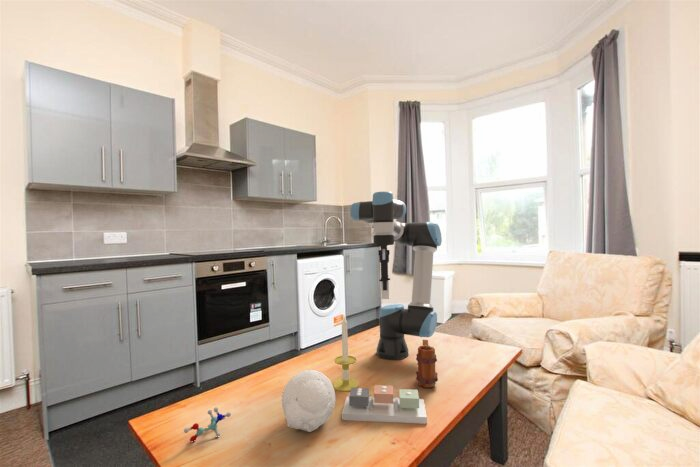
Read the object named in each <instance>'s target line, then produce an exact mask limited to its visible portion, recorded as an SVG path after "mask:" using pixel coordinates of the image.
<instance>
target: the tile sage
mask: <svg viewBox="0 0 700 467" xmlns="http://www.w3.org/2000/svg"><path fill="white" fill-rule="evenodd" d="M398 393H399V395H398V396H399V397H398V398H399V400H400V408H419V399H420V396H419V391H418V389H410V388H408V389H407V388H404V389H403V388H399V389H398Z"/></svg>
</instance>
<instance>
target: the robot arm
mask: <svg viewBox="0 0 700 467" xmlns="http://www.w3.org/2000/svg"><path fill="white" fill-rule="evenodd" d="M349 212H350V213H349V214H350V217H351V219H352V220H353V221H363V222H365V223H367V224H368V225H370V226H371V228H372V230H373V234H374V235H373V239H372V240H373V245H374V246H380V249H379V250H378V256H379V260H378V262H379V263H380V279H379V281H378V282H380V287H381V288H380V290H381V291H380V292H381V293H380V295H381V300H390V292H389V291H390V286H389V284H390V283H389V282H390V281H391V277H389V267H388V266H389V265H388V264H389V262H390V249H388V246H394V245H395V243H397V244H399V245H403V246H408V247H409V246H410V247H412V248H411V249H412V250H413V251H414V266H413V278H412V291H411V293H412V294H411V302H410V303H408V305H407V308H405V306H404V305H403V304H399V303H398V304H397V303H396V304H388V305H384V306H382V307H381V308H380V309H379V316H378V318H379V319H378V320H379V341H378V342H377V347H376V355H377V357H379V358H382V359H384V360H390V361H391V360H403V359H406V358H407V357H409V348H408V344H407V341H406V339H405V335H406V336H413V337H420V338H431V337H432V336H433V335H434V334H435V332H436V328H437V324H438V314H437V312H436V311H435V310H434V306H433V305H432V304H431V299H432V298H431V297H432V282H433V280H432V279H433V265H434V264H433V263H434V253H436V251H437V250H438V247H440V246H441V245H442V232H441V229H440V226H439V224H438V223H437V222H436V221H419V222H400V221H398V220H399V219H403V217H404V216H405V215H406V213H407V206H406V204H405V202H403V201H401V200H400V199H394V193H393V192H392V191H376V192H374V193H373V194H372V200H371V201H359V202H358V201H357V202H353V203H352V204H351V205H350V210H349Z"/></svg>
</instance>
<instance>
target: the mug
mask: <svg viewBox="0 0 700 467" xmlns="http://www.w3.org/2000/svg"><path fill="white" fill-rule="evenodd" d="M415 355H416V358H415V359H416V361H417V371H415V374H416V376H415V380H416V381H418V385H419V386H420V387H422V388H428V389H429V388H433V387H435V385H436V383H437V382H438V381H439V379H438V372H436V362H437V361H438V359H437V354H436V348H434V347H433V346H431V345H429V339H422V345H420V346H418V348H417V353H416V354H415Z"/></svg>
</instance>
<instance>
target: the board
mask: <svg viewBox="0 0 700 467" xmlns="http://www.w3.org/2000/svg"><path fill="white" fill-rule="evenodd" d="M426 410H427V409H426V406H425V401H424V398H419V408H400V400H399V397H398V396H397V397H393V404H386V403H374V395H373V396H369V403H368V406H349V395H347V396H346V397H345V401H344V405H343V409H342V413H341V417H342V418H341V420H342V421H356V422H358V421H359V422H379V423H380V422H381V423H403V424H404V423H406V424H421V425H422V424H423V425H424V424H425V425H427V424H428V416H427V411H426Z"/></svg>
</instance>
